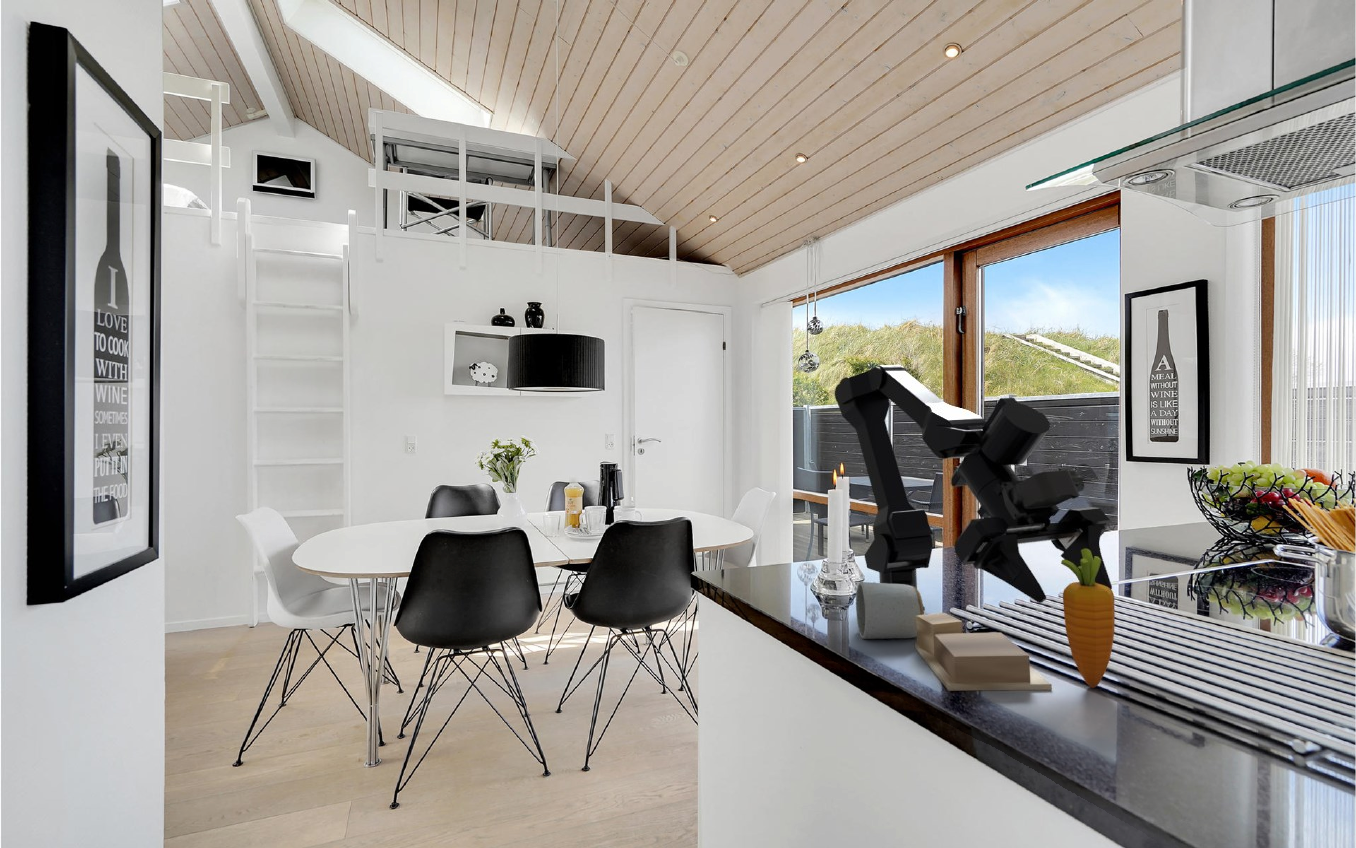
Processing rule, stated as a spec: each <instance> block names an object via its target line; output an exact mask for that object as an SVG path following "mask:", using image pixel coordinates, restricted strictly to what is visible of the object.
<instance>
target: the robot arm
mask: <svg viewBox="0 0 1356 848" xmlns="http://www.w3.org/2000/svg"><path fill="white" fill-rule="evenodd" d="M834 398H835V401H836V402H837V405H838V408H839V411H840V413H841V415H842V417H843V419H845V420H846V421H847V422H848V424H850V425H851V426H852V427H853V429H855V431H856V435H857V438H858V444H859V446H860V449H861V453H862V457H863V461H864V464H865V468H866V472H867V475H868V478H869V479H868V480H869V484H870V485H871V490H872V493H873V497H874V501H875V504H876V508H877V513H876V515H875V519H874V523H873V526H872V532H873V541H872V542H871V544H870V546H869V547H868V549H867V550H866V552H865V554H864V560H865V566H866V568H867V569H868V570H871V571H874V572H878V574H879V575H878V577H879V583H887V584H905V585H909V586H913V587H915V588H916V589H917V590H918V582H917V581H918V577H917V570H918V569H929V567H930V561H931V558H932V557H931V556H932V551H933V548H934V539H933V537H932V535H934V532H933V531H932V529H931V526H930V524H929V520H928V515H927V513H926V511H925V509H916V508H915V507H914V506H913V505H912V503H910V501H909V499H908V494H907V491H906V489H905V485H904V481H903V478H902V474H901V472H900V471H901V470H900V468H899V465H898V462H897V457H896V454H895V451H894V448H893V443H892V441H891V437H890V434H889V431H888V430H889V429H888V427H887V423H886V418H887V415H888V413H889V409H890V406H891V404H890V401H891V402H892V403H893V404H894V405H896V406H897V407H898V408H899V409H900V410H901V411H902V412H903V413H904V414H906V416H908V417H909V418H910V419H911V420H912V421H913V422H914V423H915V424H917V425H918V426H919V428H920V429H921V438H922V441H923V442H924V443H925V445H926V446H927V447H928V449H929V450H930V451H931V453H933V455H934V456H935V457H937V458H938V459H942V460H947V459H950V460H951V459H961V458H963V459H962V461H961V462H960V464H959V465H958V466H957V465H956V466H954V467H953V473H952V474H953V475H952V477H951V480H950V481H951V482H950V484H951V486H952V487H953V488H954V487H955V488H956V487H962V486H964V487H966V486H967V487H968V489H969V490H970V492H971V494H973V496H974V498H976V500H977V501H978V503H979V504H980V507H979V509H978V510H977V511H976V513H977V514H978V515H979V518H971V520H969V522H968V524H967V525H966V527H964V529H963V531H962V532H961V534H960V535H959V536H958V537H957V539H956V540H955V542H954V553H955V554H956V556H957V557H958V559H959V561H960V562H961V563H962V564H963V565H964V566H966V565H972V566H973V568H975V570H983V572H984V571H985V572H986V573H988V574H990V575H992V576H994V577H995V578H997V579H999V580H1000V581H1003V582H1004V583H1007V584H1008V585H1009V586H1011V587H1013V588H1014V589H1016V590H1018V591H1019V592H1020V593H1022V594H1024V595H1025V596H1027V597H1029V598H1031V599H1032V600H1034V601H1035V602H1037V603H1040V604H1042V603H1044V602H1045V601H1046V599H1047V596H1046V594H1045V592H1044V590H1043V587H1042V586H1041V584H1040V582H1039V581H1038V579H1037V578H1036V576H1035V574H1034V573H1033V572H1032V570H1031V568H1030V567H1029V566H1028V564H1027V562H1026V561H1025V560H1024V559H1023V556H1022V555H1021V553H1020V549H1019V545H1020V544H1021V545H1022V544H1029V543H1038V542H1039V543H1040V542H1048V541H1051V544H1052V545H1053V546H1054V547H1055V549H1057V550H1059V551H1061V552H1062V553H1061V554H1060V557H1061V558H1063V559H1062V560H1064V559H1065V560H1068V561H1070V562H1072V563H1073V564H1074V565H1075V566H1076V567H1077V568H1078V567H1079V566H1081V562H1080V560H1081V559H1083V556H1082V552H1081V550H1082V549H1089V550H1090V551H1091V554H1092V557H1093V560H1094V557H1095V556H1096V557H1099V558H1100V559H1101V563H1100V567H1099V570H1098V572H1097V575H1096V577H1095V583H1098V584H1101V585H1104V586H1106V587H1108V588H1110V589H1111V590H1112V589H1113V586H1112V583H1111V580H1110V577H1109V574H1108V571H1107V568H1106V564H1105V561H1104V559H1103V556H1102V552H1101V546H1100V539H1101V537H1102V536H1103V534H1104V533H1106V531H1107V528H1108V526H1109V525H1110V524H1111V523H1112V521H1111V519H1110V518H1109V517H1108V516H1107V515H1106V513H1105V512H1104V511H1103V510H1102V509H1101V508H1100V507H1093V506H1092V507H1091V506H1089V507H1080V508H1072V509H1070V508H1069V509H1068V510H1067V512H1066V513H1065V514H1064V515H1063V516H1062V517H1060V520H1059V521H1057V522H1052V521H1051V519H1050V518H1051V517H1054V516H1056V515H1057V514H1058V513H1059V512H1060V510H1061V509H1060V508H1059V507H1058V505H1060V504H1061V503H1064V502H1067V501H1068V500H1070V499H1073V500H1074V499H1077V498H1078V497H1079V496H1080V492H1082V491H1084V489H1085V483H1084V479H1083V477H1082V476H1081V475H1080V473H1078V472H1077V471H1076V470H1075V469H1074V468H1073V467H1072V466H1063V467H1059V468H1058V469H1057V470H1050V471H1049V470H1048V471H1042V472H1038V473H1035V474H1033V475H1031V476H1029V477H1027V478H1026V479H1023V480H1021V478H1020V477H1019V476H1018V475H1017V473H1016V472H1015V471H1014V470H1013V468H1012V466H1020V465H1023V464H1024V463H1025V462H1026V461H1027V459H1028V458H1029V457H1030V456H1031V454H1032V453H1033V451H1035V449H1036V448H1037V446H1038V445H1039V444H1040V442H1041V441H1042V440H1043V438H1044V437H1045V436H1046V434H1047V433H1048V432H1049V431H1050V428H1051V423H1050V421H1049V419H1048V417H1047V416H1046V415H1045V414H1044V413H1043V412H1042V411H1041V412H1040V411H1038V410H1036V409H1034V408H1033V407H1031V406H1029V405H1027V404H1024V403H1020V402H1018V400H1016V398H1015V397H1000V398H999V400H998V401H997V403H996V404H995V406H994V409H993V411H992V412H991V414H990V416H989V417H988V419H987V420H986V419H985V418H983V417H982V416H981V415H978V414H976V413H974V412H972V411H970V410H968V409H964V408H960V407H958V406H953V405H950V404H948V403H946V402H945V401H943V400H942V399H941V398H940V397H938V396H937V394H935V393H934V392H933V391H931V390H930V389H928V388H927V387H926V386H925V385H923V384H922V383H921V382H919V380H917V379H916V378H915V377H913V376H912V375H911V374H910V373H909V372H908V370H907V369H906V367H905V366H902V365H900V364H887V365H885V364H880V365H877V366H875V367H872V368H871V369H869V370H866V371H864V372H862V373H861V372H860V373H858V374H855V375H852V376H847V377H845V376H844V377H843V378H841V380H840V382H839V383H838V384H837V385H836V386H835V389H834ZM923 609H924V611H925V610H926V608H925V606H924V605H923Z"/></svg>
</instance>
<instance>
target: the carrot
mask: <svg viewBox="0 0 1356 848" xmlns="http://www.w3.org/2000/svg"><path fill="white" fill-rule="evenodd" d="M1081 552H1082V556H1083V559H1081V560H1080V562H1081V566H1079V567H1078V568H1077V567H1076V566H1075V565H1074V564H1073V563H1072V562H1070V561H1068V560H1065V559H1062V560H1061V561H1060V563H1061V565H1063V566H1064V567H1067V569H1069V570H1070V571H1071V572H1072V573H1073V574H1074V575H1075V576H1076V578H1077V579H1078V581H1076V582H1073V581H1072V582H1070V583H1069V584H1068V585H1067V586H1066V587H1065V588H1064V589H1063V591H1062V602H1063V603H1062V605H1063V616H1064V624H1065V632H1066V636H1067V640H1068V644H1069V649H1070V652H1071V655H1072V658H1073V661H1074V663H1075V666H1076V668H1077V670H1078V671H1079V673H1080V675H1081V677H1082V678H1083V680H1084V682H1085V683H1086V684H1087V685H1088V686H1089V687H1090V688H1092V689H1095V688H1096V687H1097V686H1099V684H1100V682H1101V681H1102V679H1103V677H1104V674H1105V672H1106V670H1107V668H1108V665H1109V663H1110V660H1111V655H1112V651H1113V644H1114V638H1115V623H1116V621H1115V595H1114V592H1113V590H1112V589H1110V588H1108V587H1106V586H1104V585H1101V584H1098V583H1095V577H1096V575H1097V572H1098V570H1099V567H1100V563H1101V559H1100V558H1099V557H1096V556H1095V557H1094V560H1093V557H1092V554H1091V551H1090V550H1089V549H1082V550H1081Z"/></svg>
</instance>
